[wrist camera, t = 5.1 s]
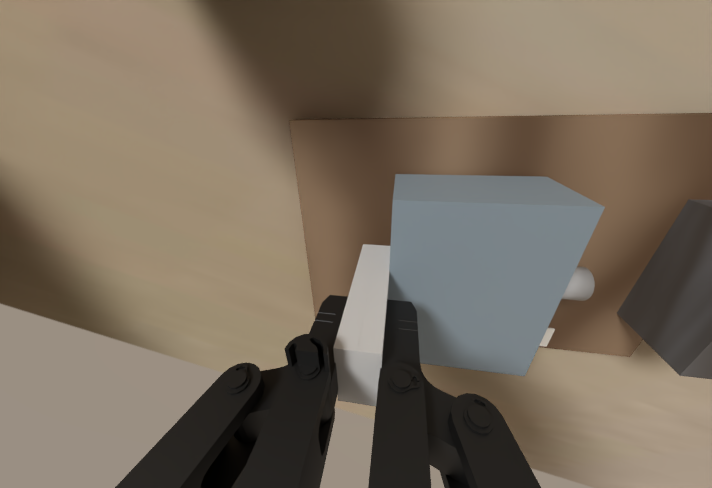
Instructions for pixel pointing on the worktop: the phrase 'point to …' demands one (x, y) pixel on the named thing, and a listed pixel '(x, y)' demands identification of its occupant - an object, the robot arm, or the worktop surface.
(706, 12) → the worktop surface
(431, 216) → the block
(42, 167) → the worktop surface
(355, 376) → the robot arm
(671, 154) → the base
